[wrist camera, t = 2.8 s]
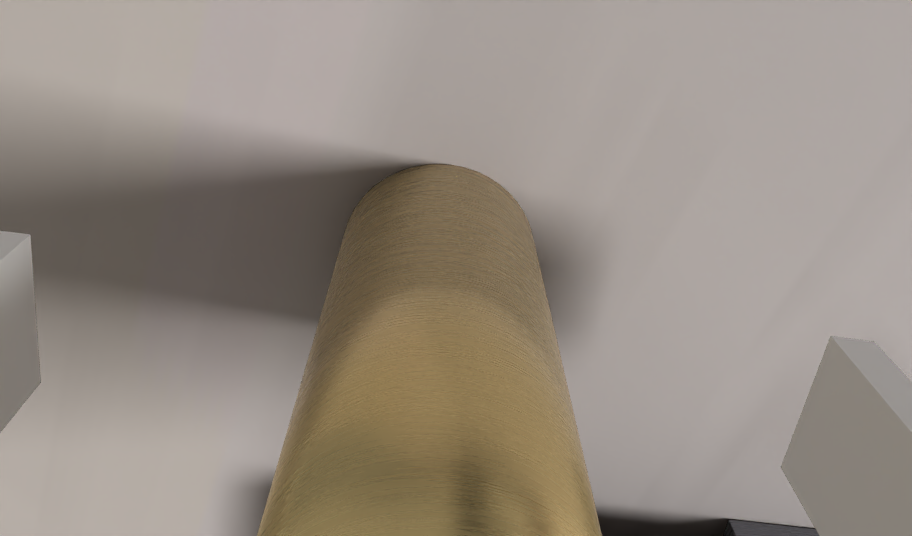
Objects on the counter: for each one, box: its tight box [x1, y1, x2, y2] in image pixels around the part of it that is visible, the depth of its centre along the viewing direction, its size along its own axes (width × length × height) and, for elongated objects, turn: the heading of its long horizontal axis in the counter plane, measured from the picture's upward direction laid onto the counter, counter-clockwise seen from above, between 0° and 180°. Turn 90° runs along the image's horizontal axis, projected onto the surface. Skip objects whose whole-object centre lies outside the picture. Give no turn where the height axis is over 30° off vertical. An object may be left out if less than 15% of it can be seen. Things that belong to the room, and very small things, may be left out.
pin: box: [257, 164, 602, 536], centre depth 11 cm, size 4×4×14 cm
